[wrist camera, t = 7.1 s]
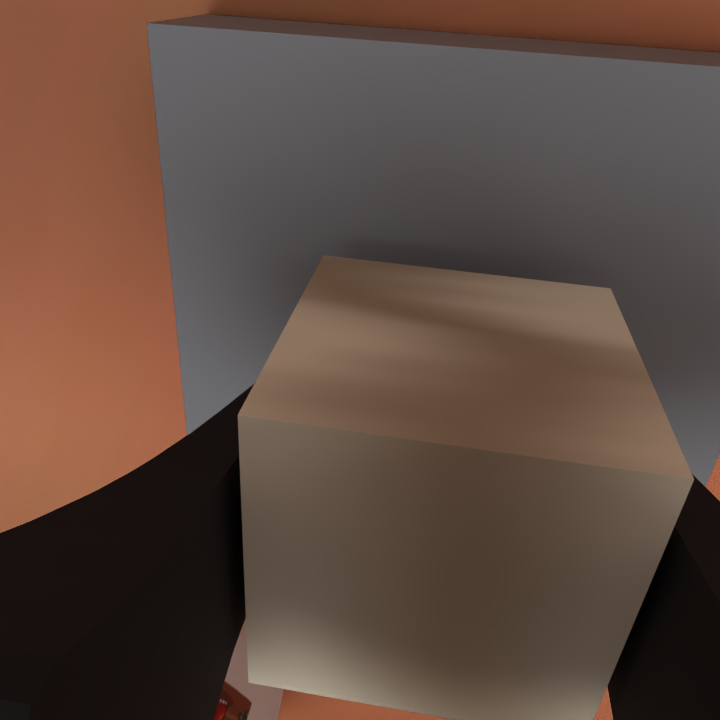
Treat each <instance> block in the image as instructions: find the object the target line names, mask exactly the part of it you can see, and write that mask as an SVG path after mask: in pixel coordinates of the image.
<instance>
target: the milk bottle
mask: <svg viewBox="0 0 720 720" xmlns="http://www.w3.org/2000/svg"><path fill="white" fill-rule="evenodd" d="M283 692H284V689H281V688H276V687H270V686H265V685H259V684H253V683H248V658H247V634H246V619H245V621H244V624H243V626H242V629H241V632H240V635H239V637H238V640H237V643H236V646H235V648H234V651H233V655H232V658H231V661H230V665H229V668H228V671H227V675H226V678H225V681H224V685H223V688H222V691H221V695H220V698H219V701H218V705H217V708H216V711H215V715H214V718H213V720H277V718H278V714H279V710H280V705H281V701H282V697H283Z"/></svg>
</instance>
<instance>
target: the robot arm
mask: <svg viewBox="0 0 720 720" xmlns="http://www.w3.org/2000/svg"><path fill="white" fill-rule="evenodd" d="M254 384H255V383H254ZM254 384H253V385H252V386H250V387H249V388H248V389H247V390H245V391H244V392H243V393H242V394H240V395H239V396H238V397H237V398H235V399H234V400H233V401H232V402H230V403H229V404H228V405H227V406H225V407H224V408H223V409H222V410H220V411H219V412H218V413H216V414H215V415H214V416H212V417H211V418H210V419H209V420H207V421H206V422H205V423H203V424H202V425H201V426H199V427H198V428H197V429H195V430H194V431H193V432H191V433H190V434H188V435H187V436H186V437H184V438H183V439H181V440H180V441H178V442H177V443H175V444H174V445H172V446H171V447H169V448H168V449H166V450H165V451H163V452H162V453H160V454H159V455H158V456H156V457H155V458H153V459H151V460H150V461H148V462H147V463H145V464H143V465H142V466H140V467H138V468H137V469H135V470H133V471H131V472H130V473H128V474H126V475H124V476H123V477H121V478H119V479H117V480H115V481H113V482H112V483H110V484H108V485H106V486H104V487H102V488H101V489H99V490H97V491H95V492H93V493H91V494H89V495H87V496H84V497H82V498H80V499H78V500H76V501H74V502H71V503H69V504H67V505H65V506H63V507H61V508H59V509H56V510H54V511H52V512H50V513H48V514H46V515H43V516H41V517H39V518H37V519H35V520H32V521H30V522H27V523H25V524H22V525H20V526H17V527H15V528H12V529H10V530H7V531H5V532H2V533H0V720H213V718H214V715H215V711H216V708H217V705H218V701H219V698H220V695H221V691H222V688H223V685H224V681H225V678H226V675H227V671H228V668H229V665H230V661H231V658H232V655H233V651H234V648H235V646H236V643H237V640H238V637H239V635H240V632H241V629H242V626H243V624H244V621H245V619H246V609H245V584H244V560H243V535H242V511H241V486H240V462H239V437H238V413H239V412H240V410H241V408H242V406H243V404H244V402H245V400H246V399H247V397H248V395H249V393H250V391H251V389H252V387H253V386H254ZM692 476H693V478H694V481H693V484H692V486H691V488H690V491H689V493H688V495H687V498H686V500H685V503H684V505H683V507H682V510H681V512H680V514H679V517H678V519H677V522H676V524H675V526H674V529H673V531H672V533H671V536H670V538H669V541H668V543H667V545H666V548H665V550H664V552H663V555H662V557H661V560H660V562H659V564H658V567H657V569H656V572H655V574H654V576H653V579H652V581H651V583H650V586H649V588H648V591H647V593H646V595H645V598H644V600H643V602H642V605H641V607H640V610H639V612H638V614H637V617H636V619H635V621H634V624H633V626H632V629H631V631H630V633H629V636H628V638H627V640H626V643H625V645H624V648H623V650H622V652H621V655H620V657H619V659H618V662H617V664H616V667H615V669H614V671H613V674H612V676H611V679H610V681H609V683H608V691H609V697H610V703H611V708H612V714H613V720H720V501H719V500H718V499H717V498H716V497H715V496H714V495H713V494H712V493H711V492H710V491H709V490H708V489H707V488H706V487H705V486H704V485H703V484H702V483H701V482H700V481H699V480H698V479H697V478H696V477H695V476H694V475H693V474H692Z"/></svg>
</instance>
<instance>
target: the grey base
mask: <svg viewBox="0 0 720 720" xmlns="http://www.w3.org/2000/svg"><path fill="white" fill-rule="evenodd" d="M147 31H148V41H149V52H150V62H151V72H152V82H153V92H154V103H155V113H156V123H157V133H158V143H159V154H160V164H161V174H162V184H163V194H164V205H165V215H166V225H167V235H168V245H169V255H170V266H171V276H172V286H173V296H174V306H175V317H176V327H177V337H178V347H179V357H180V368H181V378H182V388H183V398H184V408H185V419H186V429H187V435H188V434H190V433H191V432H193V431H194V430H195V429H197V428H198V427H199V426H201V425H202V424H203V423H205V422H206V421H207V420H209V419H210V418H211V417H212V416H214V415H215V414H216V413H218V412H219V411H220V410H222V409H223V408H224V407H225V406H227V405H228V404H229V403H230V402H232V401H233V400H234V399H235V398H237V397H238V396H239V395H240V394H242V393H243V392H244V391H245V390H247V389H248V388H249V387H250V386H252V385H253V384H254V383H255V382H256V380H257V378H258V376H259V374H260V373H261V371H262V369H263V367H264V365H265V363H266V361H267V360H268V358H269V356H270V354H271V352H272V350H273V348H274V347H275V345H276V343H277V341H278V339H279V337H280V335H281V334H282V332H283V330H284V328H285V326H286V324H287V322H288V321H289V319H290V317H291V315H292V313H293V311H294V309H295V308H296V306H297V304H298V302H299V300H300V298H301V296H302V294H303V293H304V291H305V289H306V287H307V285H308V283H309V281H310V280H311V278H312V276H313V274H314V272H315V270H316V268H317V267H318V265H319V263H320V261H321V259H322V257H323V255H326V256H334V257H343V258H352V259H360V260H369V261H378V262H386V263H395V264H404V265H412V266H421V267H430V268H438V269H447V270H456V271H464V272H473V273H482V274H490V275H499V276H508V277H516V278H525V279H534V280H543V281H551V282H560V283H569V284H577V285H586V286H595V287H603V288H611V290H612V293H613V295H614V297H615V300H616V302H617V304H618V306H619V309H620V311H621V313H622V316H623V318H624V320H625V322H626V325H627V327H628V329H629V332H630V334H631V336H632V338H633V341H634V343H635V345H636V348H637V350H638V352H639V354H640V357H641V359H642V361H643V364H644V366H645V368H646V370H647V373H648V375H649V377H650V380H651V382H652V384H653V386H654V389H655V391H656V393H657V396H658V398H659V400H660V402H661V405H662V407H663V409H664V412H665V414H666V416H667V418H668V421H669V423H670V425H671V428H672V430H673V432H674V434H675V437H676V439H677V441H678V444H679V446H680V448H681V450H682V453H683V455H684V457H685V460H686V462H687V464H688V466H689V469H690V471H691V473H692V474H693V475H694V476H695V477H696V478H697V479H698V480H699V481H700V482H701V483H702V484H703V485H704V486H706V484H707V482H708V479H709V477H710V475H711V472H712V470H713V468H714V465H715V463H716V461H717V458H718V456H719V454H720V52H707V51H694V50H680V49H667V48H653V47H640V46H626V45H613V44H600V43H586V42H573V41H559V40H546V39H532V38H519V37H505V36H492V35H478V34H465V33H451V32H438V31H424V30H411V29H397V28H384V27H370V26H357V25H343V24H330V23H316V22H303V21H289V20H276V19H262V18H249V17H235V16H222V15H208V14H206V15H199V16H192V17H185V18H178V19H172V20H165V21H158V22H151V23H147Z"/></svg>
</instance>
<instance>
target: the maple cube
mask: <svg viewBox="0 0 720 720" xmlns="http://www.w3.org/2000/svg"><path fill="white" fill-rule="evenodd" d="M238 437H239V462H240V486H241V511H242V535H243V560H244V584H245V609H246V634H247V658H248V683H253V684H259V685H265V686H270V687H276V688H281V689H287V690H292V691H298V692H303V693H309V694H314V695H320V696H325V697H331V698H336V699H342V700H348V701H353V702H359V703H364V704H370V705H375V706H381V707H386V708H392V709H397V710H403V711H408V712H414V713H419V714H425V715H431V716H436V717H442V718H447V719H453V720H593V719H594V717H595V714H596V712H597V709H598V707H599V705H600V702H601V700H602V698H603V695H604V693H605V690H606V688H607V686H608V683H609V681H610V679H611V676H612V674H613V671H614V669H615V667H616V664H617V662H618V659H619V657H620V655H621V652H622V650H623V648H624V645H625V643H626V640H627V638H628V636H629V633H630V631H631V629H632V626H633V624H634V621H635V619H636V617H637V614H638V612H639V610H640V607H641V605H642V602H643V600H644V598H645V595H646V593H647V591H648V588H649V586H650V583H651V581H652V579H653V576H654V574H655V572H656V569H657V567H658V564H659V562H660V560H661V557H662V555H663V552H664V550H665V548H666V545H667V543H668V541H669V538H670V536H671V533H672V531H673V529H674V526H675V524H676V522H677V519H678V517H679V514H680V512H681V510H682V507H683V505H684V503H685V500H686V498H687V495H688V493H689V491H690V488H691V486H692V484H693V481H694V478H693V476H692V473H691V471H690V469H689V466H688V464H687V462H686V460H685V457H684V455H683V453H682V450H681V448H680V446H679V444H678V441H677V439H676V437H675V434H674V432H673V430H672V428H671V425H670V423H669V421H668V418H667V416H666V414H665V412H664V409H663V407H662V405H661V402H660V400H659V398H658V396H657V393H656V391H655V389H654V386H653V384H652V382H651V380H650V377H649V375H648V373H647V370H646V368H645V366H644V364H643V361H642V359H641V357H640V354H639V352H638V350H637V348H636V345H635V343H634V341H633V338H632V336H631V334H630V332H629V329H628V327H627V325H626V322H625V320H624V318H623V316H622V313H621V311H620V309H619V306H618V304H617V302H616V300H615V297H614V295H613V293H612V290H611V288H603V287H595V286H586V285H577V284H569V283H560V282H551V281H543V280H534V279H525V278H516V277H508V276H499V275H490V274H482V273H473V272H464V271H456V270H447V269H438V268H430V267H421V266H412V265H404V264H395V263H386V262H378V261H369V260H360V259H352V258H343V257H334V256H326V255H323V257H322V259H321V261H320V263H319V265H318V267H317V268H316V270H315V272H314V274H313V276H312V278H311V280H310V281H309V283H308V285H307V287H306V289H305V291H304V293H303V294H302V296H301V298H300V300H299V302H298V304H297V306H296V308H295V309H294V311H293V313H292V315H291V317H290V319H289V321H288V322H287V324H286V326H285V328H284V330H283V332H282V334H281V335H280V337H279V339H278V341H277V343H276V345H275V347H274V348H273V350H272V352H271V354H270V356H269V358H268V360H267V361H266V363H265V365H264V367H263V369H262V371H261V373H260V374H259V376H258V378H257V380H256V382H255V384H254V386H253V387H252V389H251V391H250V393H249V395H248V397H247V399H246V400H245V402H244V404H243V406H242V408H241V410H240V412H239V413H238Z"/></svg>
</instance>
